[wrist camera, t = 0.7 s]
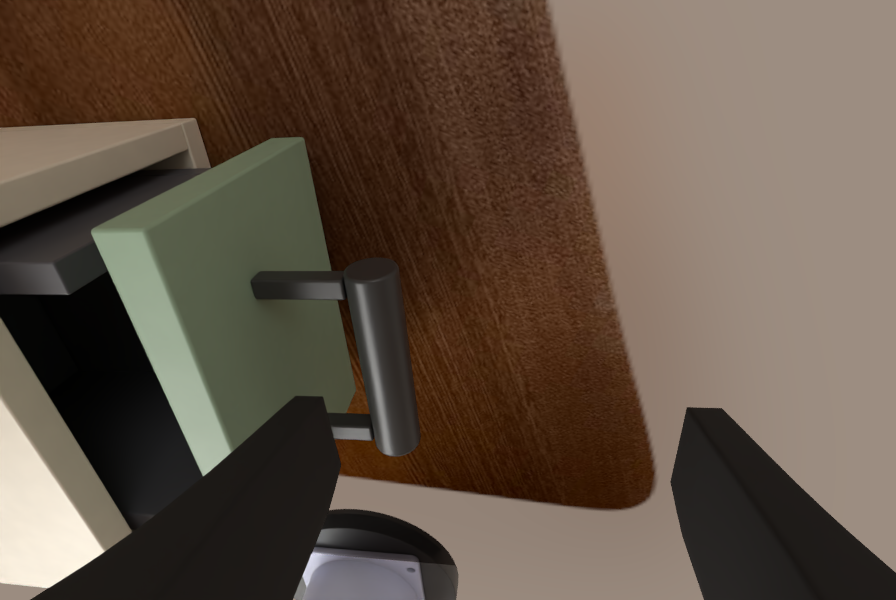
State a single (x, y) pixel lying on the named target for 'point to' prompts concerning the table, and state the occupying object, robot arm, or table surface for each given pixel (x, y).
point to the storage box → (13, 380)
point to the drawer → (200, 320)
